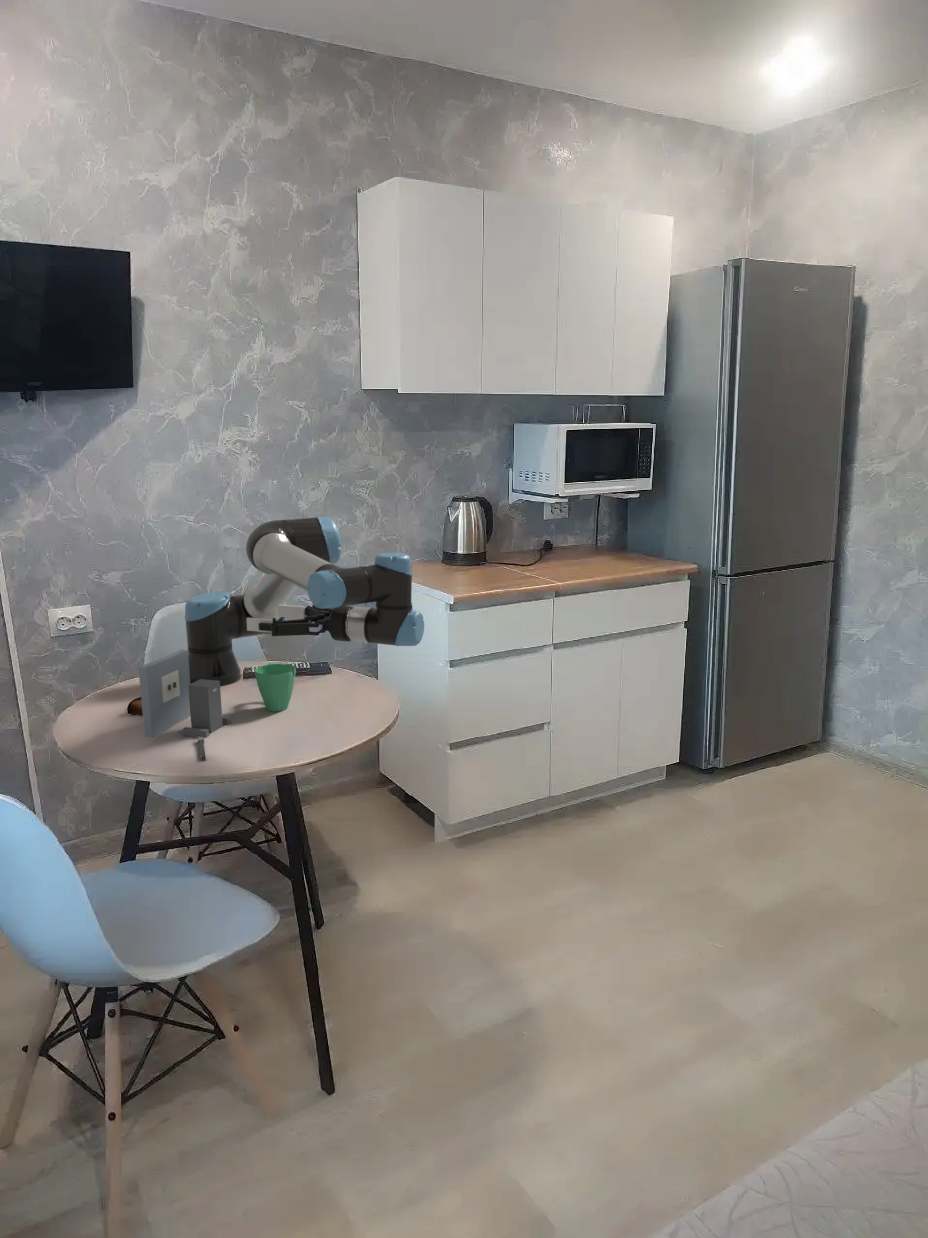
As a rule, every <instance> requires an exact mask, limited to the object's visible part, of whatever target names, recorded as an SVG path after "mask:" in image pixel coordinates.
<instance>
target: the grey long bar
mask: <svg viewBox="0 0 928 1238" xmlns="http://www.w3.org/2000/svg"><path fill="white" fill-rule="evenodd" d="M204 738H205V737H197V743H198V745H199V753H200V761H206V760H207V758H206V757H207V756H206V750H205V739H204Z"/></svg>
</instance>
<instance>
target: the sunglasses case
mask: <svg viewBox="0 0 928 1238" xmlns="http://www.w3.org/2000/svg"><path fill="white" fill-rule="evenodd" d="M126 708H127V709H126V711H127V714H128V715H129V714H131V715H130V716H137V715H139V717H140V716H141V717H143V712H142V701H141V696H139V697H136V698H134V699H132V700H131V701H130V702H129V703H128V705H127V707H126Z"/></svg>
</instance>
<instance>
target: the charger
mask: <svg viewBox="0 0 928 1238" xmlns="http://www.w3.org/2000/svg"><path fill="white" fill-rule="evenodd" d="M188 689H189V693H188V694H189V703H190V726H191V727H190V728H199V729H209V735H210V734H213V733H214V732H216V731H218V730H219V729H222V728H223V727H224V724H223V722H222V716H223V710H222V709H223V708H222V696H221V695H222V694H221V686H220V681H216V680H204V679H200V680H198V681H196V682H194V683H192V684H190V685H188Z"/></svg>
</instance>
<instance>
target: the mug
mask: <svg viewBox="0 0 928 1238" xmlns="http://www.w3.org/2000/svg"><path fill="white" fill-rule="evenodd" d="M296 669H297V668H296V666H294V665H292V664H288V663H277V662H269V663H268V664H265V665H261V666H258V667H257V668H255V669H254V676H255V680H256V685H257V687H258V691H259V693H260V697H261V698H262V701H263V703H264V705H265V707H266V709H267V710H268V711H270V712H282V711H285V710H287V709H288V708H289V704H290V701H291V698H292V695H293V691H294V686H295V679H296V673H297V670H296Z"/></svg>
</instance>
